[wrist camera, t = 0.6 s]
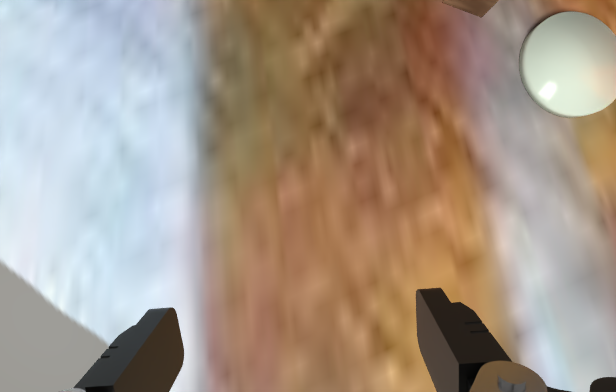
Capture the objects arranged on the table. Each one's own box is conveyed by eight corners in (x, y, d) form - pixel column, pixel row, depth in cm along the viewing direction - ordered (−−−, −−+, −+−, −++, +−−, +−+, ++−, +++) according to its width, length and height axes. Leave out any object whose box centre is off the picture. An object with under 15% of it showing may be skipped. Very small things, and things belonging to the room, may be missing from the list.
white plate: (508, 26, 39) (515, 20, 38) (601, 10, 40) (610, 4, 39) (533, 126, 38) (541, 123, 37) (626, 108, 40) (637, 104, 38)
